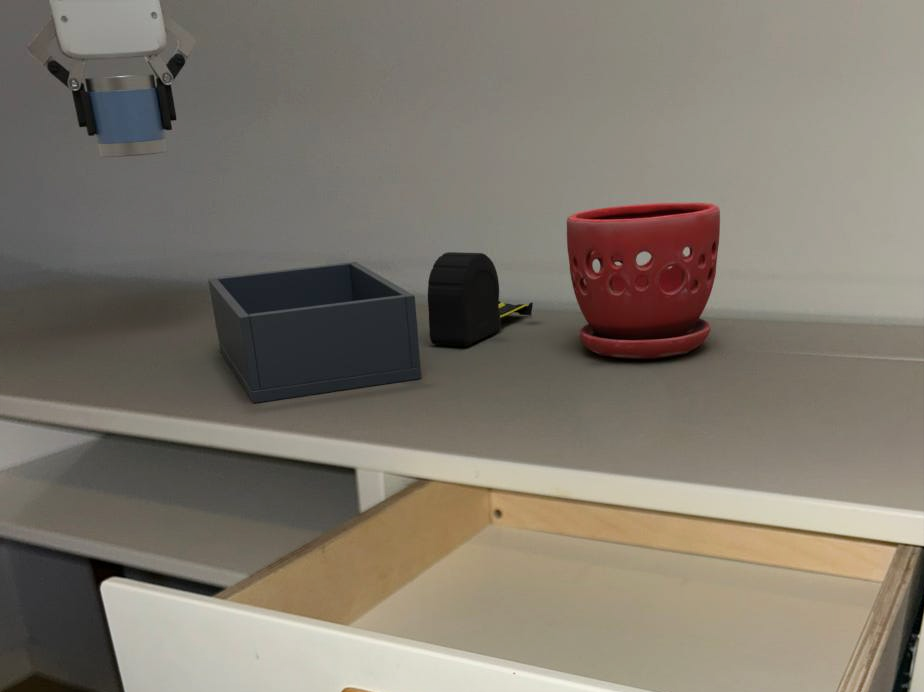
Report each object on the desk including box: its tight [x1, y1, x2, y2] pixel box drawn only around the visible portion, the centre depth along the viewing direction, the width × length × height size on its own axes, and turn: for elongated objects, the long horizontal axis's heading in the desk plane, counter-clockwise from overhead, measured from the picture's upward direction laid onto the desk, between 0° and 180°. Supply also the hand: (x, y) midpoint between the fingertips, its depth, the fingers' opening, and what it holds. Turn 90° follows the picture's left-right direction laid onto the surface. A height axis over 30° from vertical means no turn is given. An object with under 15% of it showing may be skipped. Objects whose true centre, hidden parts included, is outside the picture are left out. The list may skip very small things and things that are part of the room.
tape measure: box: [427, 251, 534, 347], centre depth 105 cm, size 15×4×8 cm, turn 152°
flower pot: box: [566, 202, 721, 360], centre depth 94 cm, size 13×13×12 cm
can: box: [84, 73, 168, 158], centre depth 107 cm, size 7×7×7 cm
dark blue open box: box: [207, 261, 422, 404], centre depth 97 cm, size 15×21×7 cm
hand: (129, 130), depth 108 cm, fingers closed on can, 6 cm apart
